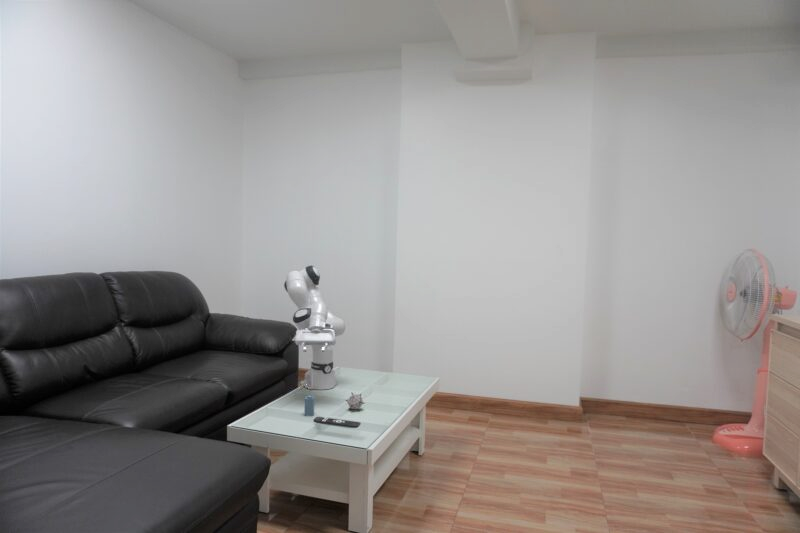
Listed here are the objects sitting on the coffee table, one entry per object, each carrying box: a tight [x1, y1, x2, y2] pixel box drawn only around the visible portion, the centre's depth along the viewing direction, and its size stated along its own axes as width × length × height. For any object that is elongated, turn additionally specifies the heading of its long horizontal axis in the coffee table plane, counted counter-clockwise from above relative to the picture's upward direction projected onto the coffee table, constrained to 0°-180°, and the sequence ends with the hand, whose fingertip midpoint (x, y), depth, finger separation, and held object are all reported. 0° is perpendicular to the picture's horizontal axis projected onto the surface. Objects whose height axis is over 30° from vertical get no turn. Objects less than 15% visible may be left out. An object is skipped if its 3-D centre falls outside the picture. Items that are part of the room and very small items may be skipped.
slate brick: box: [304, 395, 315, 417], centre depth 260 cm, size 4×4×9 cm
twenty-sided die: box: [345, 392, 366, 412], centre depth 269 cm, size 9×8×10 cm
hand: (314, 351), depth 271 cm, fingers open, 8 cm apart
